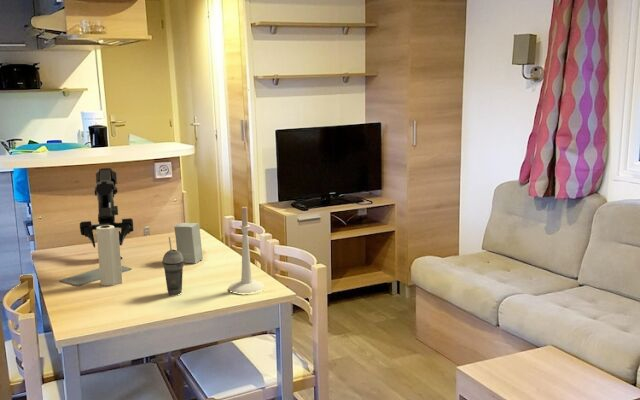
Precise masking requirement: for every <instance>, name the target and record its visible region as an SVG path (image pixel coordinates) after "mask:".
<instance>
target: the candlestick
mask: <svg viewBox="0 0 640 400" xmlns="http://www.w3.org/2000/svg"><path fill="white" fill-rule="evenodd" d="M248 217H249V216H248V206H245V205H244V206H242V207H241V225H240V226H239V227H240V229H241V230H240V231H241V232H242V238H241V239H242V242H241V243H242V246H241V248H242V249H241V280H238V281H234V282H233V283H231V284H230V285H229V286H228V291H229V290H230V291H232V292H237V293H251V292H256V291H258V290H261V289H262V288H263V287H264V285H265V284H264V283H263V282H261V281H258V280H254V279H252V278H253V277H252V267H251V266H252V265H251V258H250V257H251V256H250V255H251V254H250V246H249V245H250V244H249V235H248V234H249V233H248V232H249V231H250V229H249V228H250V227H251V225H250V224H248V223H249V222H248V221H249V218H248Z"/></svg>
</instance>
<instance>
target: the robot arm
mask: <svg viewBox="0 0 640 400" xmlns="http://www.w3.org/2000/svg"><path fill="white" fill-rule="evenodd" d="M95 183H96V186H95V187H94V196H96V199H97V206H98V207H97V208H98V209H97V210H98V213H97V221H98V223H95V224H93V223H92V221H91V220H86V221H80V223H79V230H80V235H81V236H84V237H85V238H88V239H89V240H90V242H91V244H92V246H93V248H94V249H95V248H96V241H95V236H94V231H93V230H96V228H97V227H99V226H104V225H112V226H114V228H118V229H120V230H119V244H120V246H123V244H124V240H125V238H126V237H127V236H128V235H129V234H131V232H134V220H133V218H132V217H131V218H129V217H128V218H127V217H126V218H121V222H116V219H115V216H118V215H119V206H118V205H115V201H114V198H115V195H117V194H118V188H117V186H116V185H117V184H118V176H117V172H115V171H114V170H113V169H112V168H111V167H100V168H98V172H96V173H95ZM120 258H121V260H123V257H122V256H120Z"/></svg>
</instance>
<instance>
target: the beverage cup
mask: <svg viewBox="0 0 640 400" xmlns="http://www.w3.org/2000/svg"><path fill="white" fill-rule="evenodd" d="M168 242H169V248H170V249H169V250H168V251H166V252H165V253H164V255H163V257H162V267H163V269H164V274H165V275H164V276H165V281H166V289H167V295H168V294H169V295H168V296H170V295H177V296H179V295H178V294H180V293H183V292H182V290H183V272H184V270H183V268H184V264H185V263H184V260H183V256H182V254H181V253H180V252H179V251H177V249H173V248H172V247H173V246H172V239H171V237H170V236H169V237H168ZM180 295H181V294H180Z"/></svg>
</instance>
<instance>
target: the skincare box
mask: <svg viewBox="0 0 640 400" xmlns="http://www.w3.org/2000/svg"><path fill="white" fill-rule="evenodd" d="M173 228H174V235H175V244H176V250H177V251H179V252H180V253H181V254H182V256H183V260H184V262H185V263H184V264H197V263H198V261H199V262H200V260H201V259H202V260H203V256H204V255H203V249H202V247H203V246H202V238H201V228H200V223H198V222H181V223H179V224H177V225H174V227H173ZM202 260H201V261H202Z"/></svg>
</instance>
